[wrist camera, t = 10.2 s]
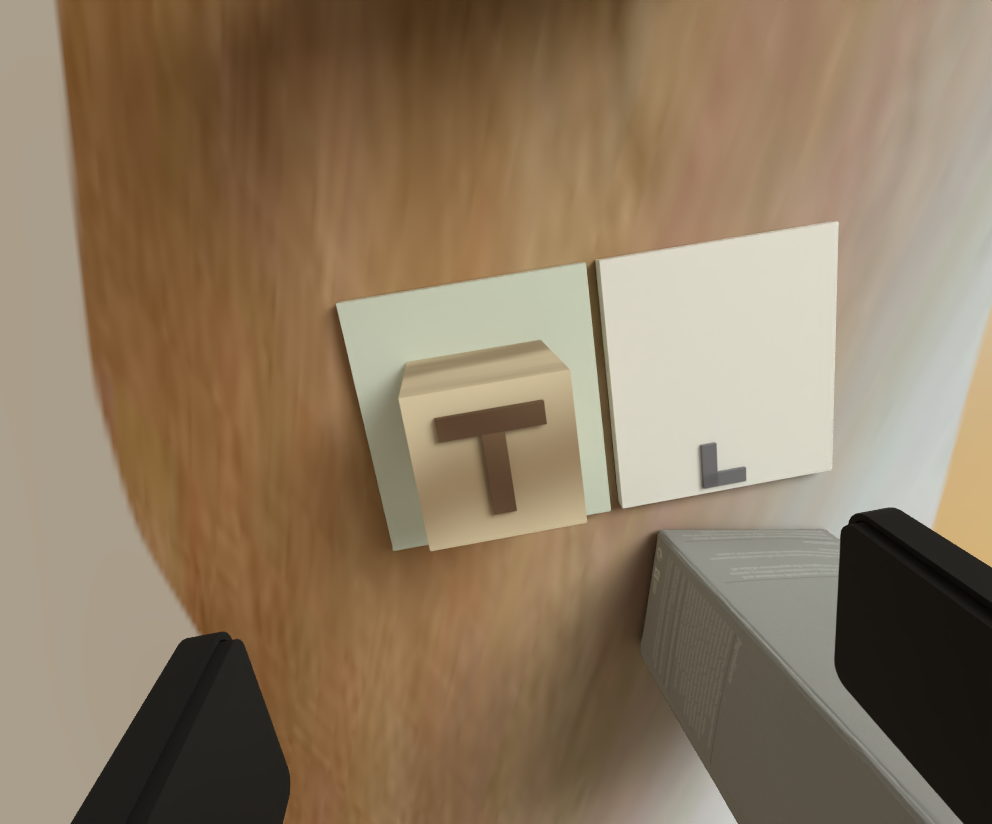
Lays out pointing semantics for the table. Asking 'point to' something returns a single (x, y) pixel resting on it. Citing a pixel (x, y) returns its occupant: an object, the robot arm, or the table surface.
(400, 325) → the pad
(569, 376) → the letter cube
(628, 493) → the pad
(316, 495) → the table surface
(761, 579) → the skincare box
